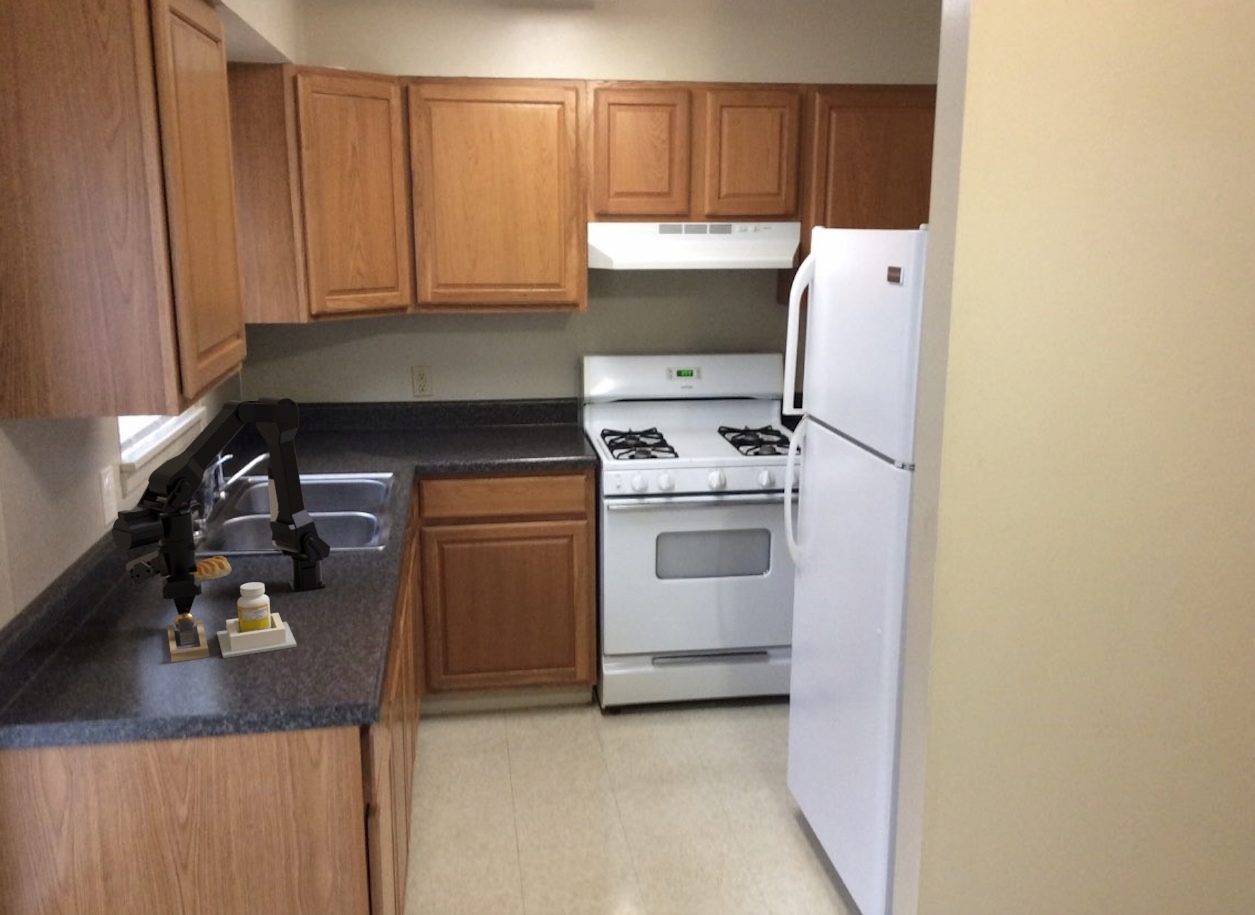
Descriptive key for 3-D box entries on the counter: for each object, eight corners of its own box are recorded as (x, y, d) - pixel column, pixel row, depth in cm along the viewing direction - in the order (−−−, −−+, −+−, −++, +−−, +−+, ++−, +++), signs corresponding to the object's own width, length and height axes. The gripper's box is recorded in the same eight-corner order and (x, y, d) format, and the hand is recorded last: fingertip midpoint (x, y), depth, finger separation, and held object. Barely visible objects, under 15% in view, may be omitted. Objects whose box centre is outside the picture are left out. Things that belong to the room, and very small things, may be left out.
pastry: (197, 586, 210) (195, 568, 210) (175, 581, 214) (173, 564, 213) (234, 573, 218) (233, 556, 218) (213, 569, 222) (211, 552, 221)
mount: (167, 630, 186) (166, 622, 186) (202, 625, 188) (201, 617, 188) (171, 662, 172) (170, 654, 171) (208, 656, 174) (208, 648, 174)
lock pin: (175, 630, 186) (174, 613, 185) (194, 627, 187) (193, 611, 186) (177, 645, 179) (176, 628, 178) (197, 642, 180) (196, 625, 180)
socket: (217, 634, 184) (215, 618, 183) (286, 624, 189) (285, 608, 189) (223, 658, 174) (221, 641, 173) (296, 646, 179) (295, 630, 178)
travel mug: (290, 541, 242) (284, 458, 238) (306, 546, 237) (301, 462, 233) (266, 547, 237) (260, 462, 233) (282, 552, 233) (276, 466, 229)
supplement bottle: (265, 643, 179) (261, 590, 177) (234, 643, 179) (230, 590, 177) (276, 631, 184) (272, 580, 182) (246, 631, 184) (242, 580, 182)
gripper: (126, 529, 189) (134, 610, 192) (126, 557, 172) (135, 644, 175) (192, 523, 194) (198, 601, 197) (198, 549, 177) (205, 634, 180)
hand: (183, 620), depth 187 cm, fingers closed
